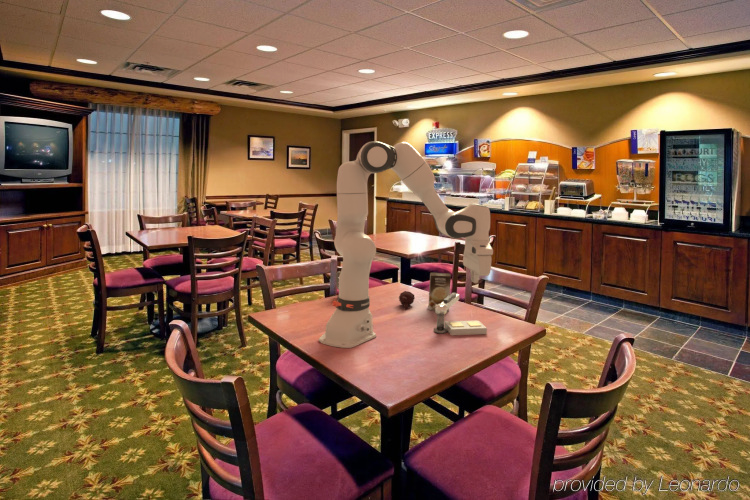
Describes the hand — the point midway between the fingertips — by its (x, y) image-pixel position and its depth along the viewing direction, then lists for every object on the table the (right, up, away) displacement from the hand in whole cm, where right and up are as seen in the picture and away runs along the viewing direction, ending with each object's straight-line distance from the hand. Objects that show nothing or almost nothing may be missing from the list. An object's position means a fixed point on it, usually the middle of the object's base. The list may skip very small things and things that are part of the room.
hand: (474, 282), depth 170 cm
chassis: (-3, -19, +3) cm, 20 cm away
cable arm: (-9, -10, +8) cm, 16 cm away
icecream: (-24, -14, +35) cm, 45 cm away
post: (-13, -19, +1) cm, 23 cm away
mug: (-53, -10, +51) cm, 74 cm away
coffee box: (-9, -15, +30) cm, 35 cm away
